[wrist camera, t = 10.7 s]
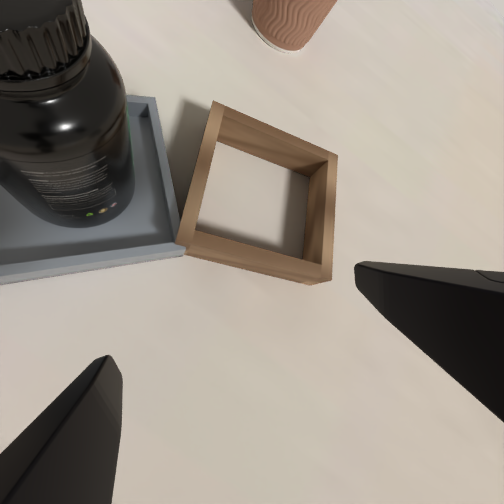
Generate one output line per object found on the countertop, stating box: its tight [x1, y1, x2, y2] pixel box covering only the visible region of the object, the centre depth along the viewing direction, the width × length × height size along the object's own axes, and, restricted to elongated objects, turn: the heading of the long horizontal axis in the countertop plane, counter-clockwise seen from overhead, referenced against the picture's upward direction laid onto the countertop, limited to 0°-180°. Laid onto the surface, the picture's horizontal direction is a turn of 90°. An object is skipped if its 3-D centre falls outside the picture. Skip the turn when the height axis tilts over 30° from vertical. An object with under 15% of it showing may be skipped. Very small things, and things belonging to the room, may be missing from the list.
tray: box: [0, 95, 186, 285], centre depth 17 cm, size 12×12×2 cm
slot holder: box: [175, 101, 338, 285], centre depth 21 cm, size 12×12×3 cm
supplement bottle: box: [0, 0, 135, 228], centre depth 12 cm, size 7×7×12 cm
